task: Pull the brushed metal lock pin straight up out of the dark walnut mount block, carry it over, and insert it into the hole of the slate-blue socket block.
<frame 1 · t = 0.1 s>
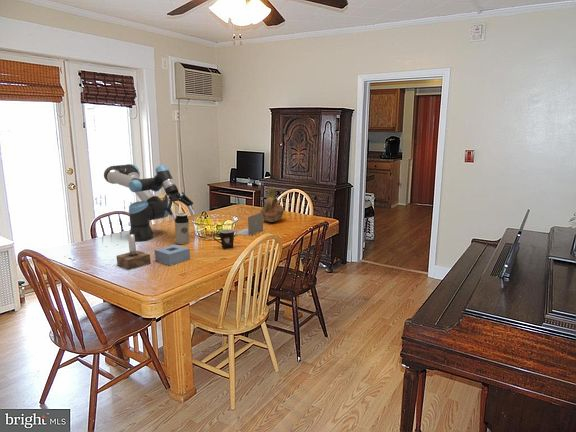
hand: (184, 217, 254), 15 cm above the table, tool tilted 35°, fingers open, 13 cm apart
lock pin: (133, 262, 216), point 1 cm above the table, touching mount block
laptop: (248, 232, 279), on the table
socket block: (172, 259, 223), on the table
mount block: (134, 264, 216), on the table
ceramic vessel: (272, 221, 309), on the table
coffee mug: (225, 247, 244), on the table
travel mug: (182, 243, 254), on the table, touching gripper
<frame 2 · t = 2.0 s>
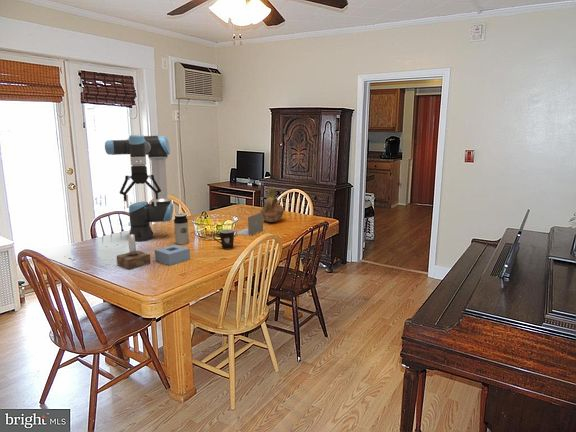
hand: (141, 206, 215), 30 cm above the table, tool pointing down, fingers open, 13 cm apart
travel mug: (182, 243, 254), on the table
everything else where it was.
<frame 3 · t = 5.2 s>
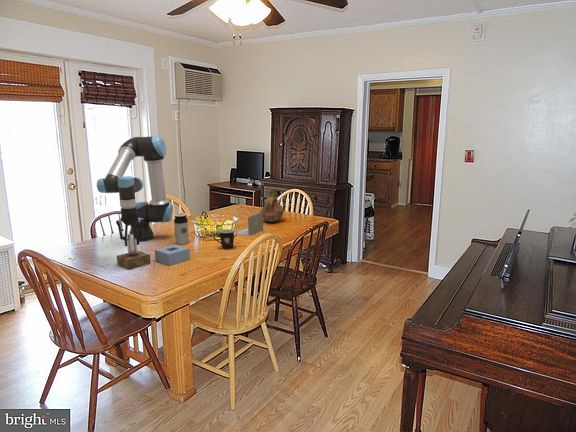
hand: (132, 251, 215), 7 cm above the table, tool pointing down, fingers closed on lock pin, 3 cm apart
lock pin: (133, 262, 216), point 1 cm above the table, touching gripper, mount block
everything else where it was.
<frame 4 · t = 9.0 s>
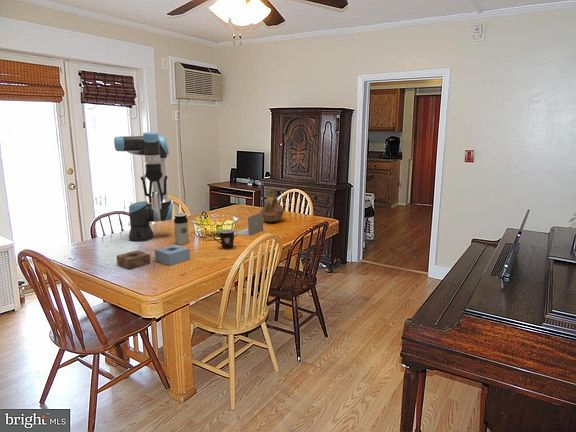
hand: (156, 208, 214), 29 cm above the table, tool pointing down, fingers closed on lock pin, 3 cm apart
lock pin: (157, 220, 216), point 23 cm above the table, touching gripper
everything else where it was.
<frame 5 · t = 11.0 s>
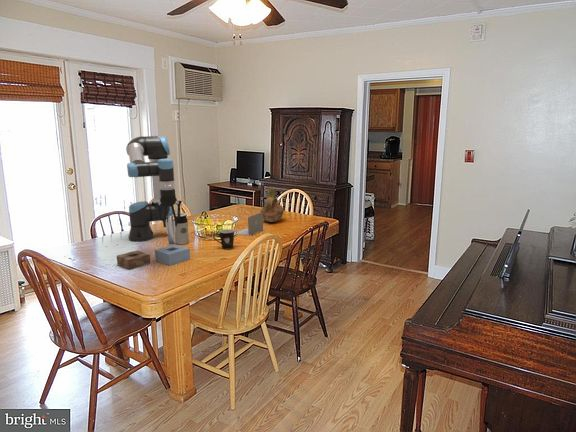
hand: (170, 232, 219), 15 cm above the table, tool pointing down, fingers closed on lock pin, 3 cm apart
lock pin: (171, 243, 221), point 9 cm above the table, touching gripper
everything else where it was.
when the fingers open (9 cm above the table, at t = 12.6 s): lock pin drops 2 cm, resting on socket block.
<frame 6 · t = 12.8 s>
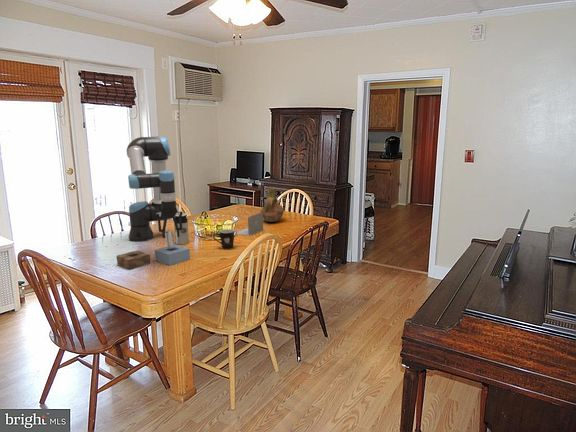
hand: (171, 243, 221), 9 cm above the table, tool pointing down, fingers open, 5 cm apart
lock pin: (172, 257, 222), point 1 cm above the table, touching gripper, socket block
everything else where it was.
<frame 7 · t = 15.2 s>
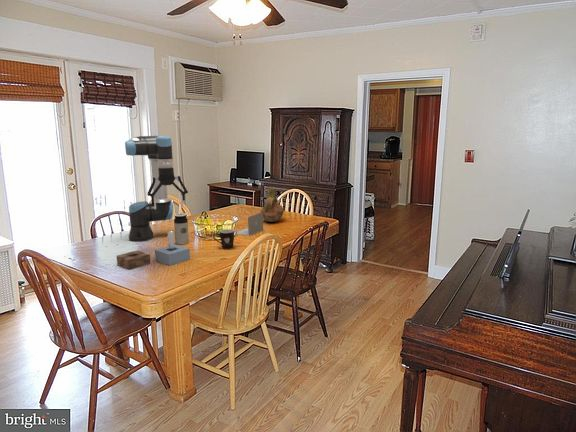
hand: (168, 207, 217), 29 cm above the table, tool pointing down, fingers open, 13 cm apart
lock pin: (172, 258, 222), point 1 cm above the table, touching socket block
everything else where it was.
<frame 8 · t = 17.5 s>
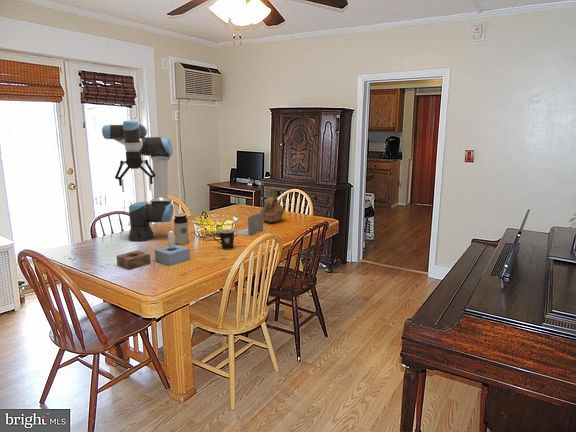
hand: (136, 191, 221), 37 cm above the table, tool pointing down, fingers open, 13 cm apart
nothing on the table moved.
at the end: lock pin 0.1 cm off-centre on the socket block, point 1.0 cm above the socket block's base; lock pin tilted 0°; the gripper is holding nothing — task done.
